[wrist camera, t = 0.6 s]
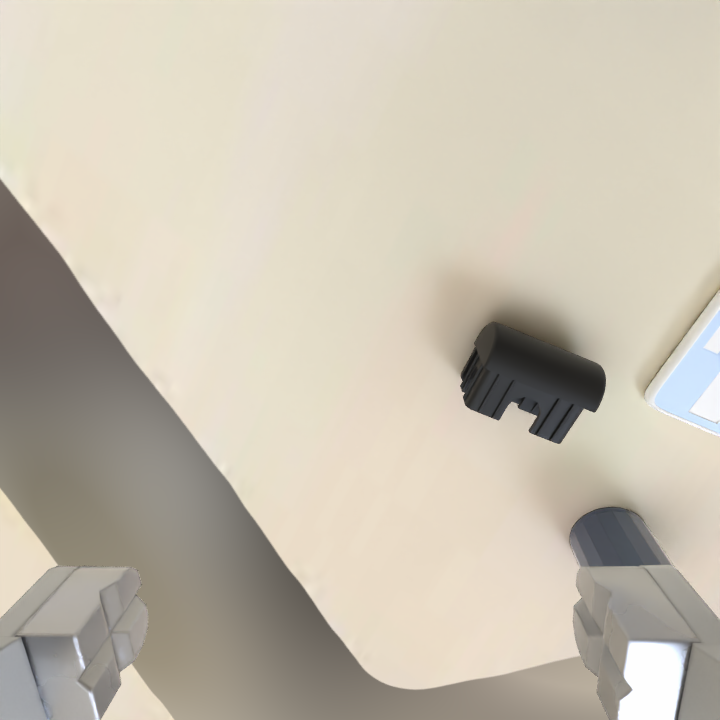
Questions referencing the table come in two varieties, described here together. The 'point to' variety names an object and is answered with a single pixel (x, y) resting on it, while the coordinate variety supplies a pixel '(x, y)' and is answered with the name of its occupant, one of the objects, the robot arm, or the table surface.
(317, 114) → the table surface
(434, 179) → the table surface
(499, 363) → the end cap
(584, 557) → the pen cup
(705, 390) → the calculator
